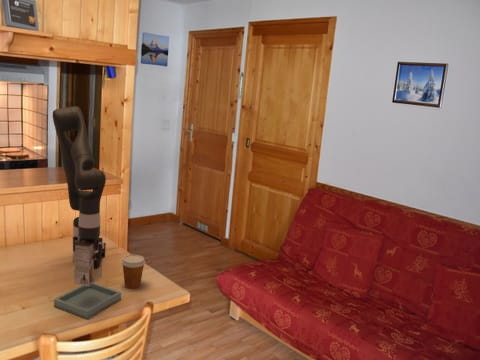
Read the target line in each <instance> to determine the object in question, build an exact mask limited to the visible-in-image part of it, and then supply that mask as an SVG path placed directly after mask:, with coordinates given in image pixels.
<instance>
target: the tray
mask: <svg viewBox="0 0 480 360" xmlns="http://www.w3.org/2000/svg"><path fill="white" fill-rule="evenodd" d="M121 300H122V292H121V291H118V290H116V289H112V288H109V287H107V286H104V285H101V284H98V283H96V282H95V283H93V284H92V285H91V286H83V285H79V286H78V287H76V288H74V289H72V290H70V291H68V292H65V293H64V294H62V295H60V296H58V297H56V298H53V307H54V308H56V309H58V310H61V311H64V312H67V313H70V314H72V315H75V316H77V317H80V318H83V319H84V318H85V319H84V320H89V319H91V318H92V317H94V316H96V315H97V314H99V313H101V312H102V311H104V310H106V309H107V308H109V307H110V306H112V305H114V304H115V303H117V302H119V301H121Z"/></svg>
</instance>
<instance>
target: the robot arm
mask: <svg viewBox="0 0 480 360" xmlns="http://www.w3.org/2000/svg"><path fill="white" fill-rule="evenodd" d="M52 121H53V125H54V129H55V132H56V137H57V141H58V143H59V148H60V154H61V161H62V165H63V169H64V175H65V179H66V183H67V184H66V185H67V191H68V193H67V194H68V200H69V202H68V203H69V207H70V208H71V210H73V211H78V213H79V214H78V216H77V217H74V219H73V221H72V224H73V225H72V226H73V227H72V229H73V230H72V262H73V263H75V243H76V242H78V241H80V240H85V241H89V242H92V243H94V247H96V246H98V250H97V251H95V252H94V253H93V254H94V269H98V268H99V267H100V260H101V259H102V260H103V259H105V258H106V249H107V247H106V246H107V244H106V242H102V243H100V242H99V239H98V238H100V236H101V200H102V197H103V195H102V194H103V193H104V190H105V186H106V184H107V183H106V182H107V177H106V175H105V173H104V171H103V170H101V169H94V167H95V164H96V163H95V159H94V156H93V153H92V150H91V147H90V142H89V137H88V131H87V127H86V121H85V117H84V114H83V112H82V109H81V108H80V107H79V106H75V105H74V106H68V107H62V108H57V109H53V110H52ZM73 131H77V135H76V136H75V139H74V141H72V140H71V139H70V138H69V137H68V135H67V134H66V133H68V132H73ZM92 169H93V170H92ZM96 253H97V256H96Z"/></svg>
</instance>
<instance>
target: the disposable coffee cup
mask: <svg viewBox="0 0 480 360" xmlns="http://www.w3.org/2000/svg"><path fill="white" fill-rule="evenodd" d="M145 263H146V260H145V257H144V256H142V255H139V254H128V255H125V256H124V257H122V260H121V264H122V272H123V281H124V287H125V288H126V289H132V290H134V289H138V288H140V286H141V282H142V278H143V277H142V276H143V271H144V266H145Z"/></svg>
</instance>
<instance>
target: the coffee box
mask: <svg viewBox="0 0 480 360" xmlns="http://www.w3.org/2000/svg"><path fill="white" fill-rule="evenodd" d="M98 239H99V242H100V243H103V237H99V238H98ZM97 250H98V246H96V247H94V243H92V242H89V241H85V240H80V241H78V242H76V243H75V263H74V262H73V263H74V271H73V272H74V275H73V276H74V278H73V279H74V280H73V282H74V284H75V285H79V286H82V285H83V286H91V285H92V284H93V283H95V284H96V282H97V281H99V280H100V279H101V278H102V277H103V276H102V275H103V259H101V260H100V267H99V268H98V269H94V254H93V253H94V252H95V251H97ZM96 256H97V253H96Z"/></svg>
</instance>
